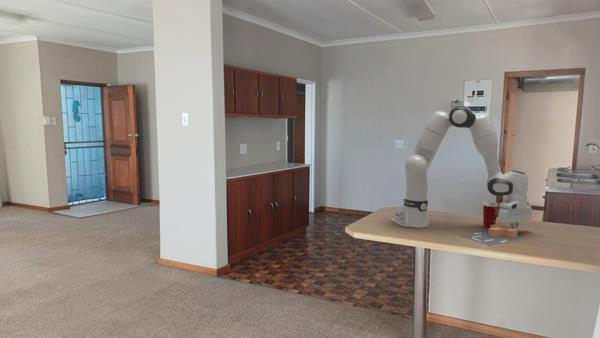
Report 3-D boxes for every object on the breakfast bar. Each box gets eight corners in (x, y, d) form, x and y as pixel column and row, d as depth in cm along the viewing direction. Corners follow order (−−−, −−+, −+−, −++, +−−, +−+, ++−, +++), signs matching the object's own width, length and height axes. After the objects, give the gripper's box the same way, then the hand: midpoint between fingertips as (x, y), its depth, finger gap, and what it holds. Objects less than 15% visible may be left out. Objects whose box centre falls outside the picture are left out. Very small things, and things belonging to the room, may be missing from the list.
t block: (481, 234, 202) (481, 226, 201) (495, 232, 206) (496, 224, 205) (502, 240, 191) (502, 232, 190) (517, 238, 195) (517, 230, 195)
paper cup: (499, 230, 212) (500, 204, 210) (483, 229, 214) (484, 203, 212) (495, 226, 220) (496, 201, 218) (479, 226, 221) (481, 200, 220)
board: (458, 237, 200) (458, 234, 199) (494, 231, 210) (494, 229, 210) (489, 247, 183) (489, 245, 183) (526, 241, 194) (527, 238, 194)
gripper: (524, 200, 208) (522, 226, 210) (496, 203, 200) (494, 231, 202) (536, 202, 203) (534, 229, 204) (508, 206, 194) (506, 234, 196)
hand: (514, 230), depth 203 cm, fingers closed
